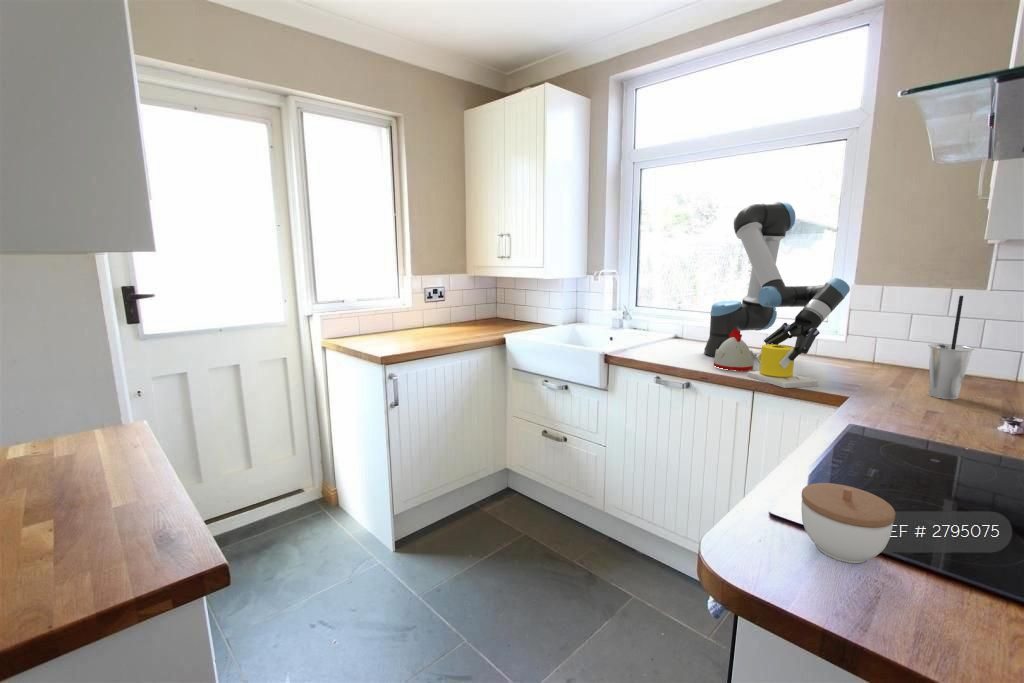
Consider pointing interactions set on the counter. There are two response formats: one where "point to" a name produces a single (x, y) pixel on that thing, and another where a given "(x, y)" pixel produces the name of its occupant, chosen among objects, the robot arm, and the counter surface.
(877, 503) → the lidded jar
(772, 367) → the tape roll
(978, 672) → the counter surface
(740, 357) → the kitchen timer
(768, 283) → the robot arm
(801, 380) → the marked board
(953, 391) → the cup with straw
